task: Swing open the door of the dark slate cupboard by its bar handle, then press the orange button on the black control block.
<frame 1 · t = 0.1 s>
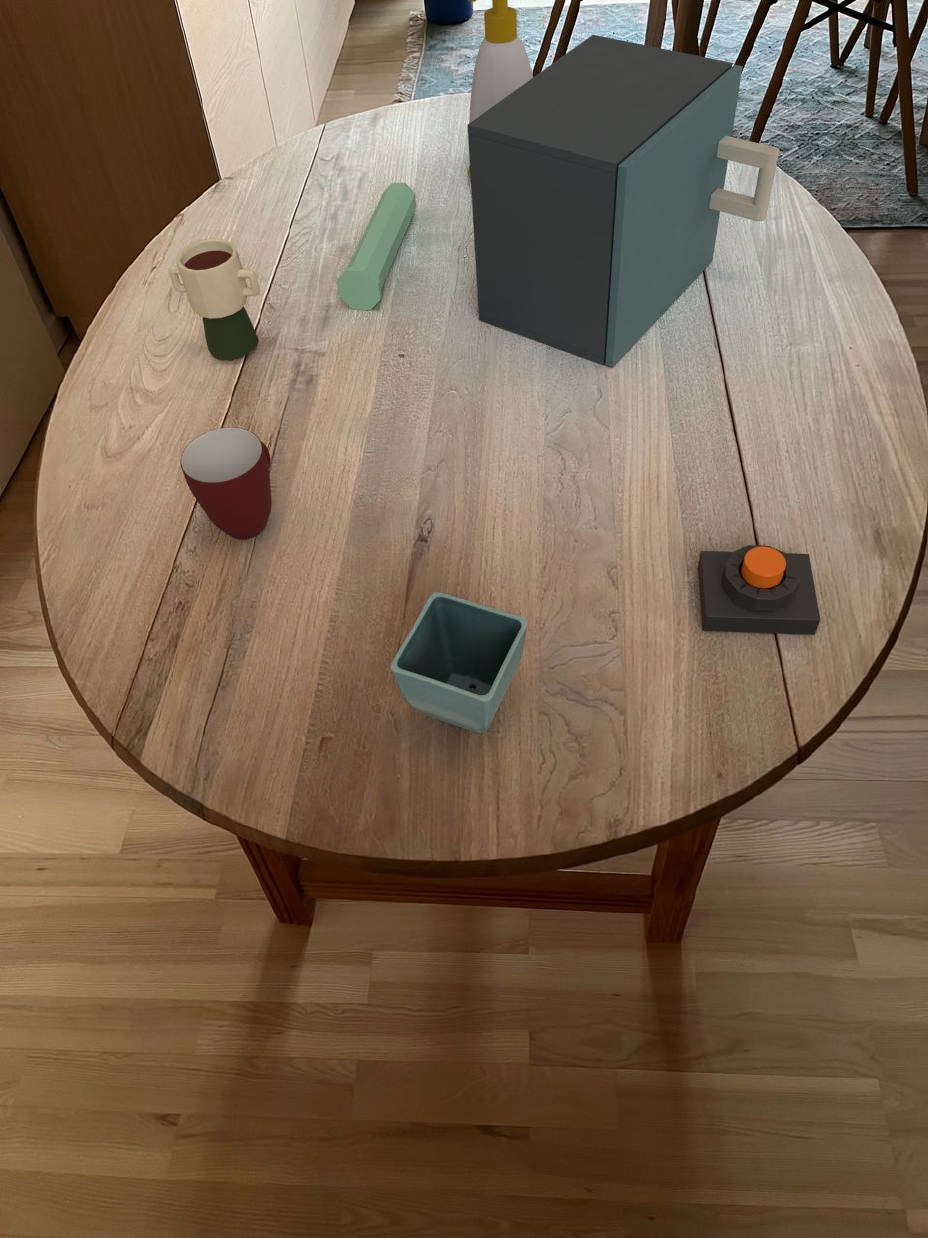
soap bottle: (504, 176, 141), on the table
door: (699, 227, 107), point 12 cm above the table, hinge at 0.0°
flower pot: (466, 704, 84), on the table
cupboard: (593, 289, 121), on the table
button: (763, 567, 85), point 5 cm above the table, slide at 0.2 cm
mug: (251, 519, 100), on the table
green octagonal rod: (385, 257, 130), on the table
character mug: (235, 351, 118), on the table
button block: (754, 599, 89), on the table
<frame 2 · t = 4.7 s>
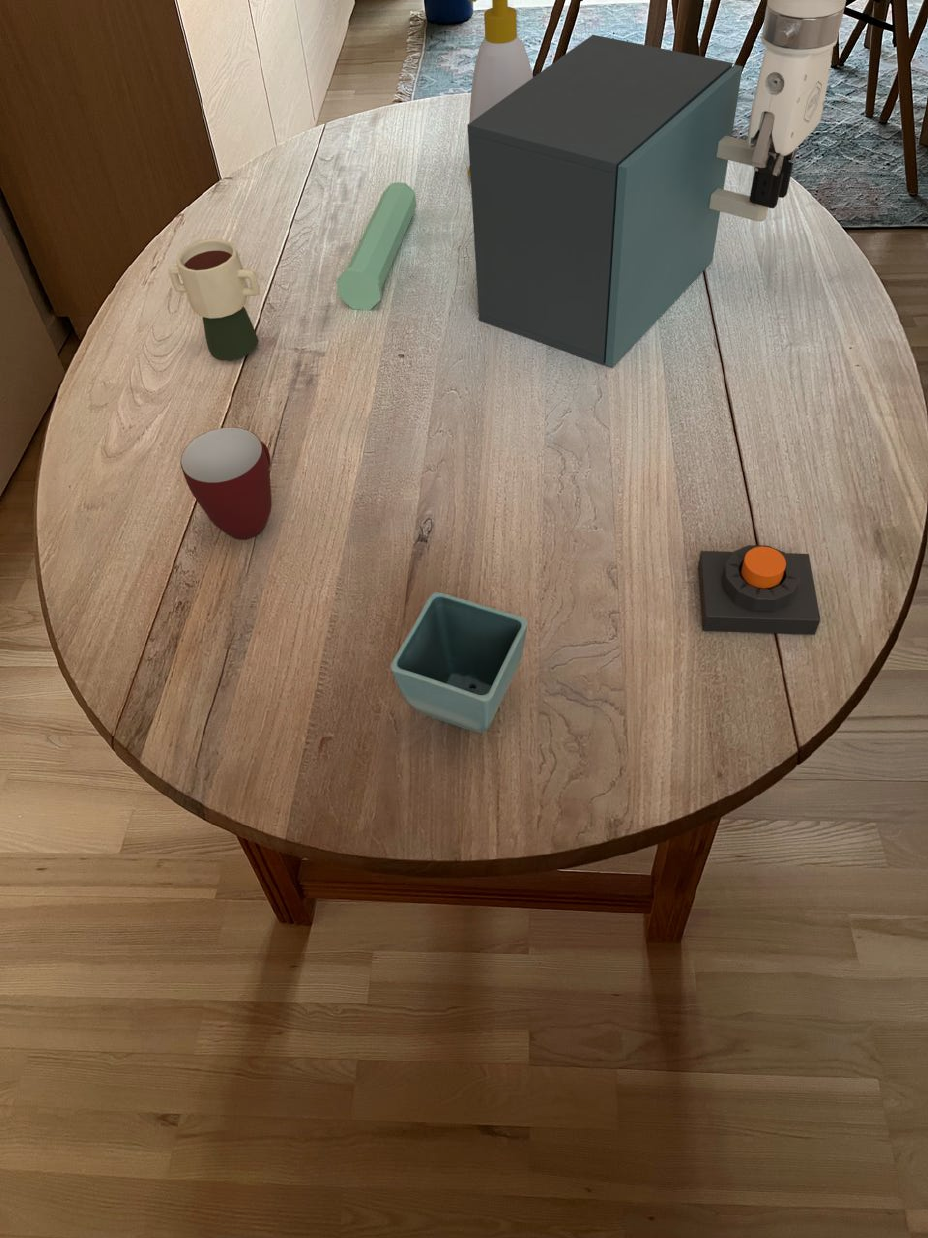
hand: (767, 198, 110), 12 cm above the table, tool pointing down, fingers closed on door, 2 cm apart
door: (699, 227, 107), point 12 cm above the table, hinge at 0.0°, touching gripper
everything else where it was.
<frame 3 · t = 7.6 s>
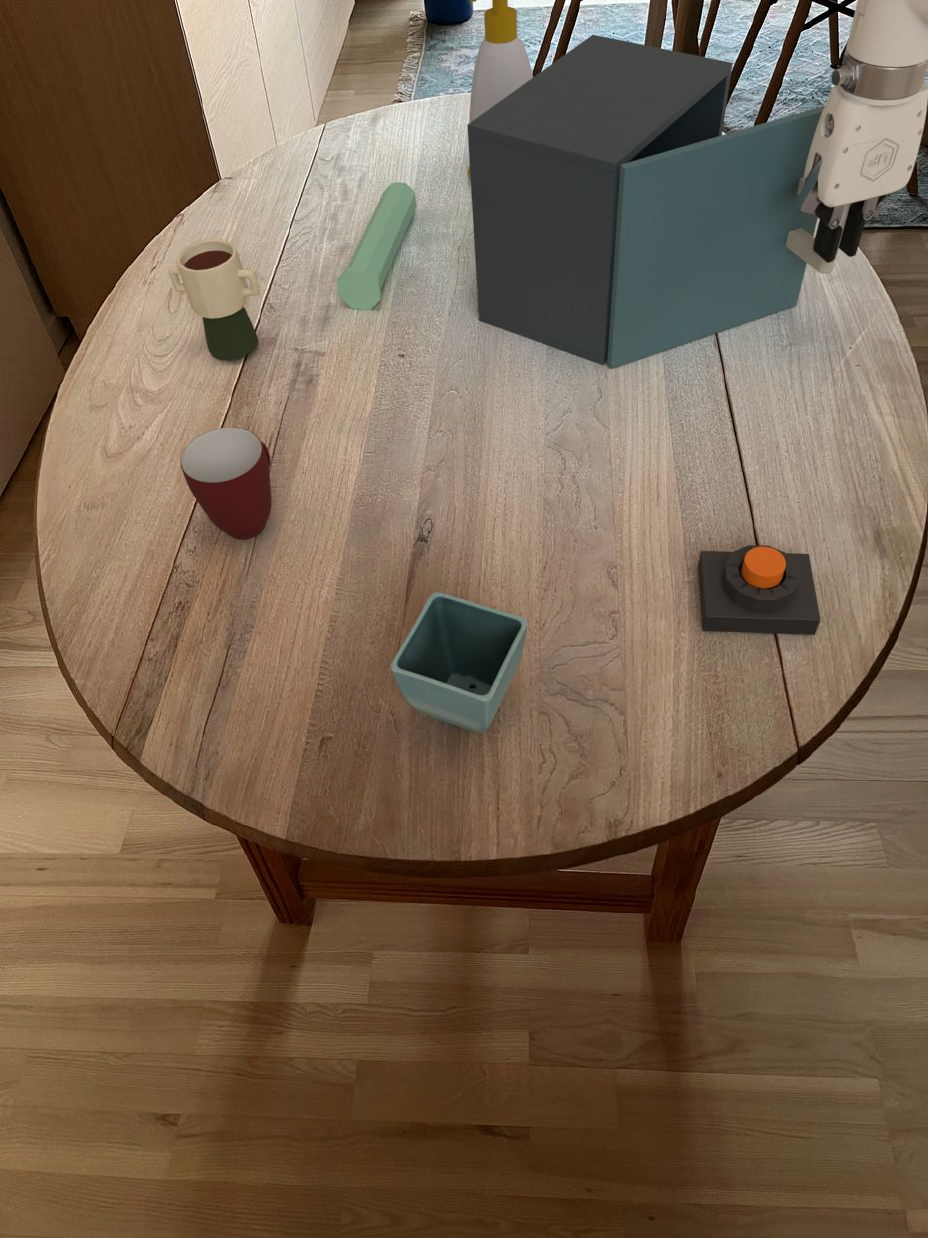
hand: (833, 251, 103), 12 cm above the table, tool pointing down, fingers closed on door, 2 cm apart
door: (736, 257, 103), point 12 cm above the table, hinge at 30.8°, touching gripper
everything else where it was.
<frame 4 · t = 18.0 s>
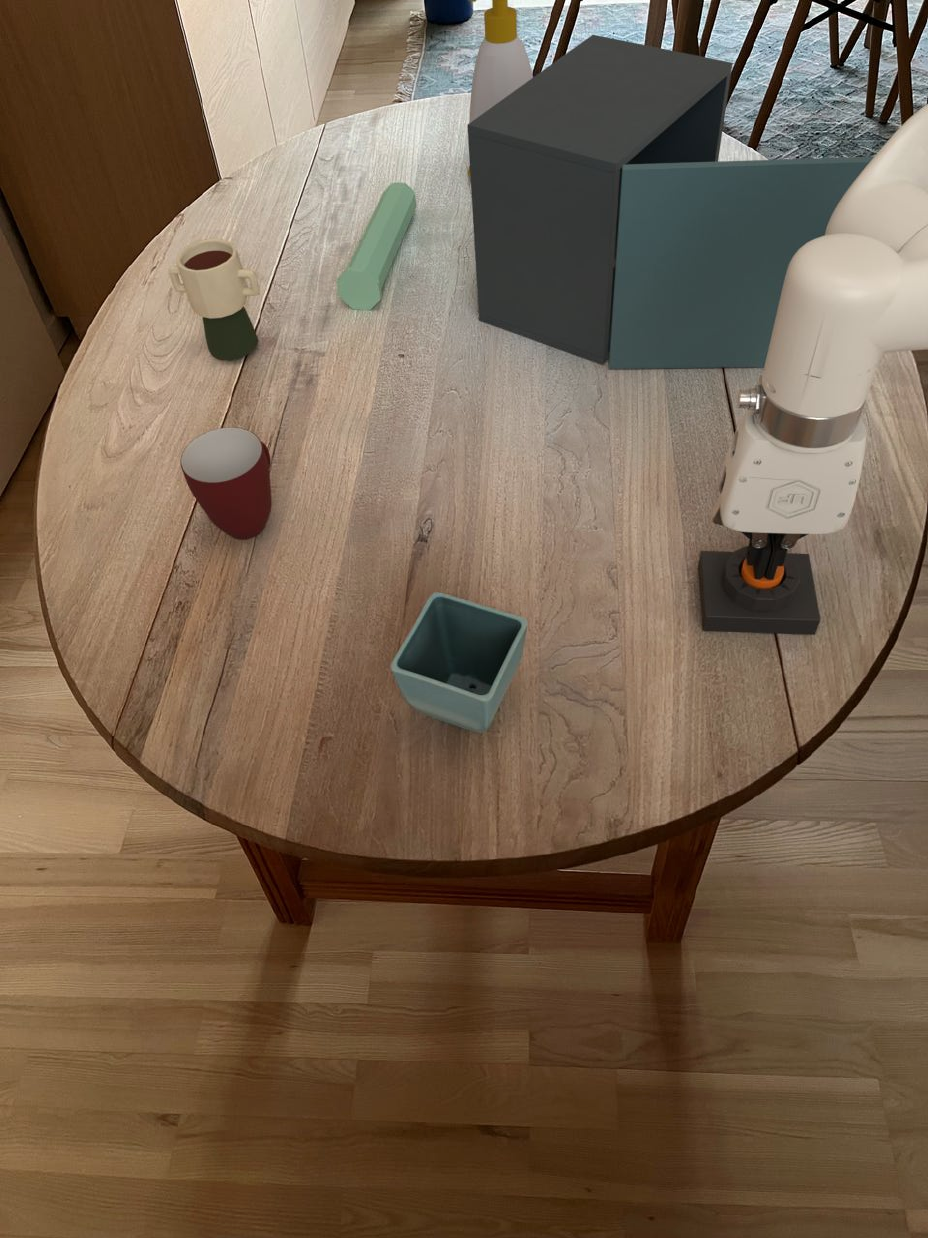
hand: (762, 567, 85), 5 cm above the table, tool pointing down, fingers closed
door: (741, 291, 99), point 12 cm above the table, hinge at 58.2°
button: (761, 573, 86), point 4 cm above the table, slide at -0.7 cm, touching gripper
everything else where it was.
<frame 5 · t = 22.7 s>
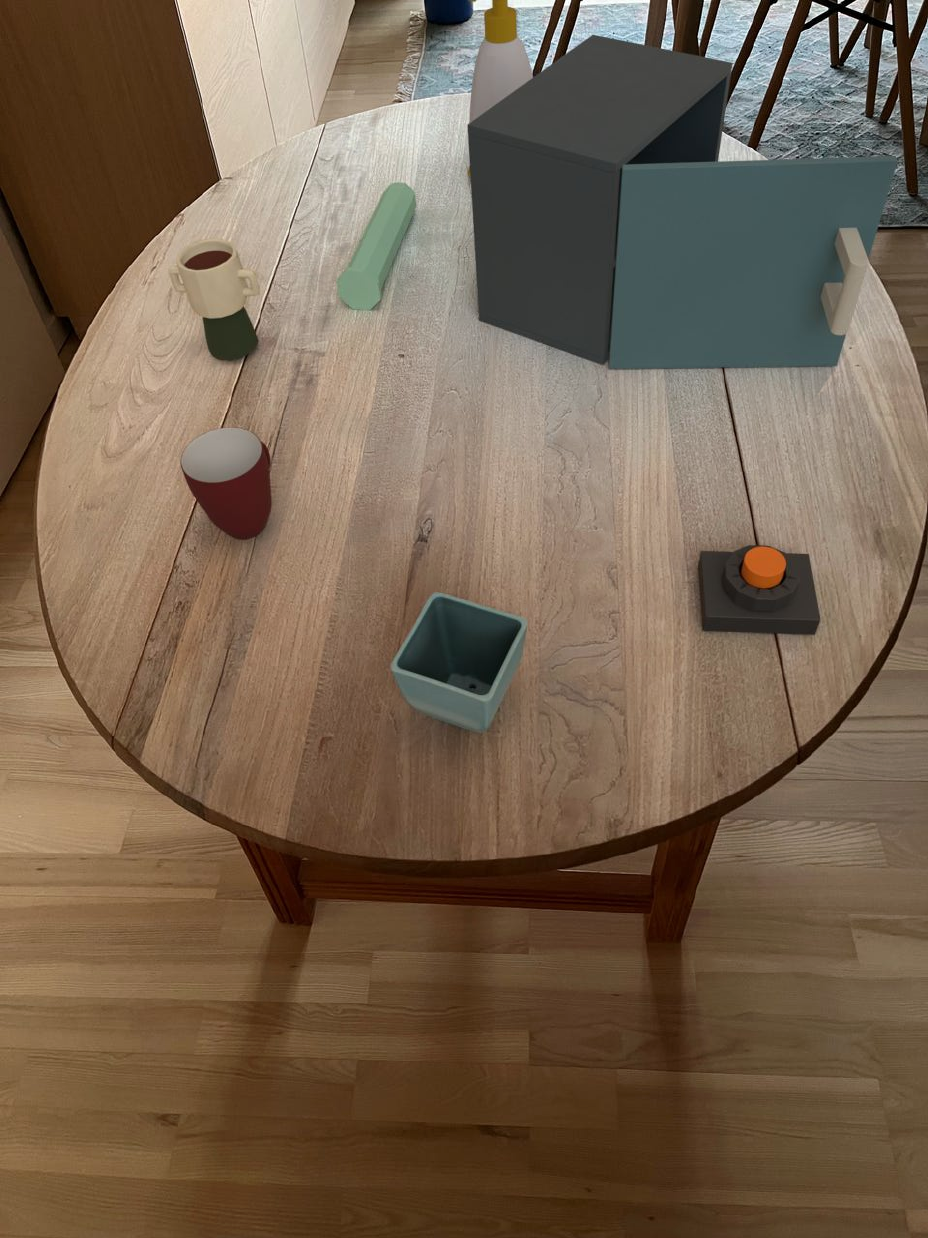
button: (763, 567, 85), point 5 cm above the table, slide at 0.2 cm
everything else where it was.
at the end: door at +58° (first picture: +0°); button pushed in 1.1 cm at the most during the clip, back to 0.2 cm at the end; button slide at 0.2 cm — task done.
